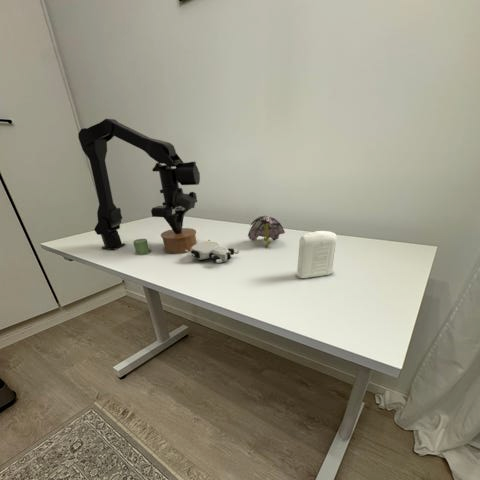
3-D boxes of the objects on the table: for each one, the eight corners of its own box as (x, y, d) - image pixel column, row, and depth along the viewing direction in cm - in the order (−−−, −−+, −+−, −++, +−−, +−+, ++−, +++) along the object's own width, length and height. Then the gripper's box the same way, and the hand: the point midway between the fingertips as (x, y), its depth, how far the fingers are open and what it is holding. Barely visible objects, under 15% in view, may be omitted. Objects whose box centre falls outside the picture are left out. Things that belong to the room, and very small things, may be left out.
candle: (133, 253, 104) (130, 242, 101) (142, 249, 108) (139, 238, 105) (143, 255, 102) (140, 243, 100) (152, 250, 106) (149, 239, 103)
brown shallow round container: (158, 252, 104) (155, 237, 101) (177, 242, 113) (174, 228, 110) (185, 255, 100) (183, 240, 97) (202, 244, 109) (200, 230, 106)
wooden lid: (153, 239, 101) (150, 225, 98) (174, 229, 111) (172, 216, 108) (184, 242, 97) (181, 227, 94) (202, 232, 106) (201, 218, 104)
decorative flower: (288, 212, 105) (274, 208, 92) (292, 243, 107) (279, 244, 94) (254, 221, 112) (236, 219, 99) (258, 250, 114) (242, 251, 101)
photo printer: (327, 269, 82) (332, 227, 76) (334, 275, 79) (340, 231, 72) (294, 274, 81) (297, 231, 74) (300, 280, 77) (304, 236, 71)
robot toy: (241, 259, 96) (208, 249, 103) (241, 246, 93) (207, 237, 100) (218, 271, 87) (184, 260, 94) (218, 258, 85) (183, 247, 92)
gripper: (173, 190, 84) (182, 240, 93) (203, 181, 99) (208, 226, 107) (145, 190, 88) (155, 238, 97) (178, 181, 103) (184, 224, 111)
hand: (178, 231), depth 103 cm, fingers closed on wooden lid, 3 cm apart
